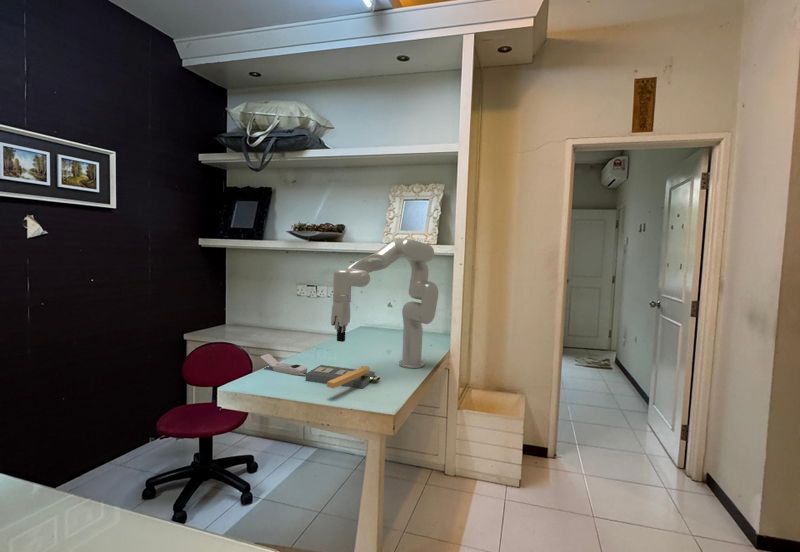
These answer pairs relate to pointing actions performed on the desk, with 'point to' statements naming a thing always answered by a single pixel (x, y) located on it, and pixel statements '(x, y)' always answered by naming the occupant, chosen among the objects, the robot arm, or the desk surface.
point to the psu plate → (331, 372)
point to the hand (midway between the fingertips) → (340, 341)
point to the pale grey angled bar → (284, 366)
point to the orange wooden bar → (348, 377)
